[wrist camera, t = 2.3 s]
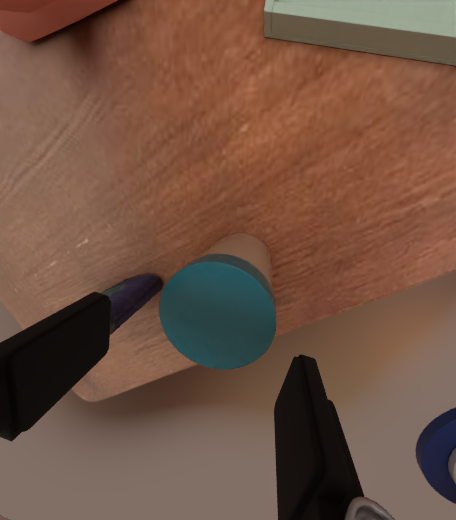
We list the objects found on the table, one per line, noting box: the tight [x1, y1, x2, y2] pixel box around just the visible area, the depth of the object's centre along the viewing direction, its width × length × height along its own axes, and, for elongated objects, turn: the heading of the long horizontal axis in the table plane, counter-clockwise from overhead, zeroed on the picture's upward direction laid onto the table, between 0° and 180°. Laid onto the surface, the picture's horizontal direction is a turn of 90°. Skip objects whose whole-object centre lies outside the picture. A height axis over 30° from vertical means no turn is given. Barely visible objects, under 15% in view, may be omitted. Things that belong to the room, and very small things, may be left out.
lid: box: [159, 254, 276, 369], centre depth 13 cm, size 7×7×2 cm
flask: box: [101, 273, 164, 334], centre depth 21 cm, size 9×3×11 cm, turn 113°
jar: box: [198, 233, 273, 291], centre depth 17 cm, size 7×7×11 cm
